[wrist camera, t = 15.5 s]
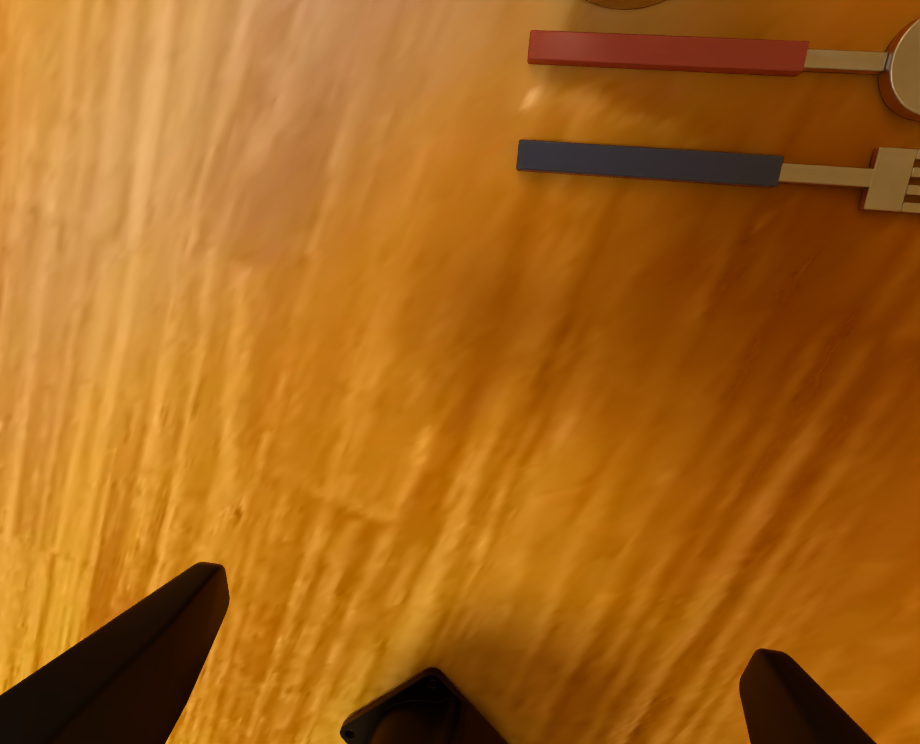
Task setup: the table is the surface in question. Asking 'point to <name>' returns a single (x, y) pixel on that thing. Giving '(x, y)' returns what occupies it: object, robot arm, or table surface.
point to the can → (624, 3)
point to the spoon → (740, 58)
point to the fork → (730, 169)
